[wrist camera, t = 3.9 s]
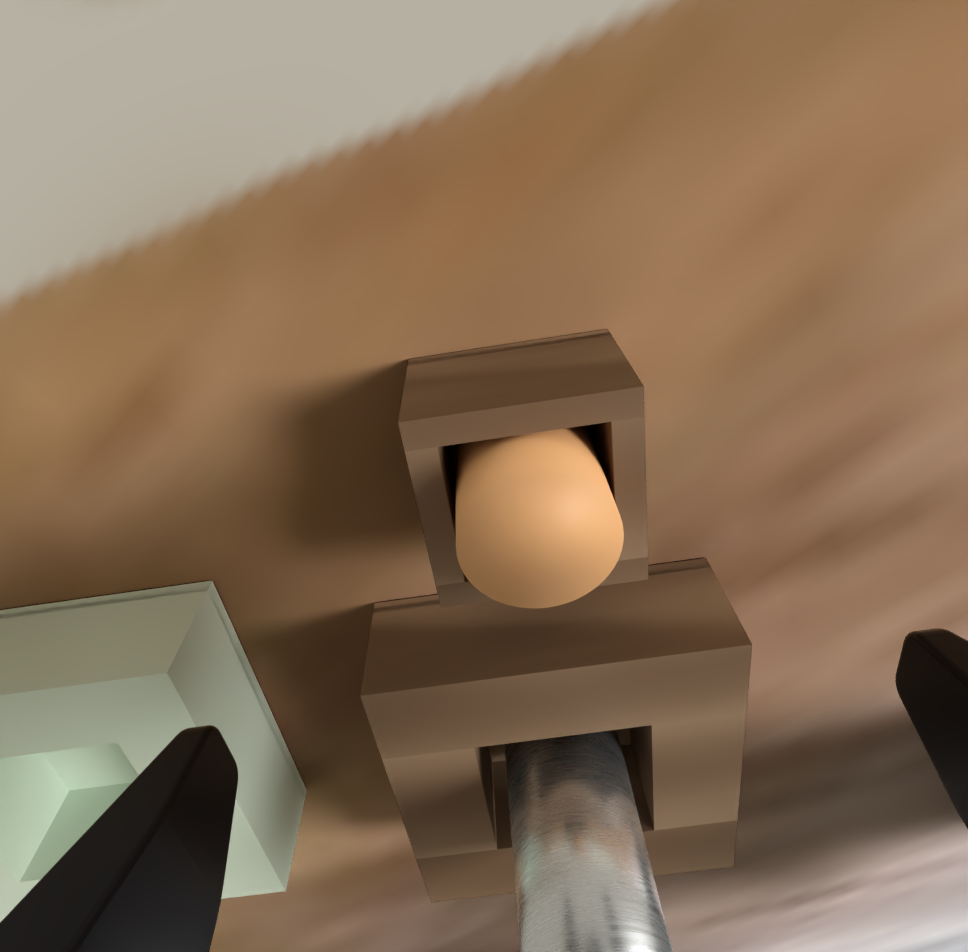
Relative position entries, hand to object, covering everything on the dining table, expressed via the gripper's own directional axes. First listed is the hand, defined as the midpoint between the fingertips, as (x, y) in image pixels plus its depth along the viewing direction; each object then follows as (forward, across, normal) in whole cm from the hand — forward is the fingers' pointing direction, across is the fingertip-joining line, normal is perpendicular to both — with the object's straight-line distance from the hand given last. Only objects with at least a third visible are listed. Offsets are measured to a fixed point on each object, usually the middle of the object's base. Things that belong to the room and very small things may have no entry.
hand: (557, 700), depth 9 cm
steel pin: (+8, 0, +9) cm, 12 cm away
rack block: (+8, +13, +8) cm, 17 cm away
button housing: (+8, 0, 0) cm, 8 cm away
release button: (+7, 0, 0) cm, 7 cm away
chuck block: (+8, 0, +9) cm, 12 cm away
